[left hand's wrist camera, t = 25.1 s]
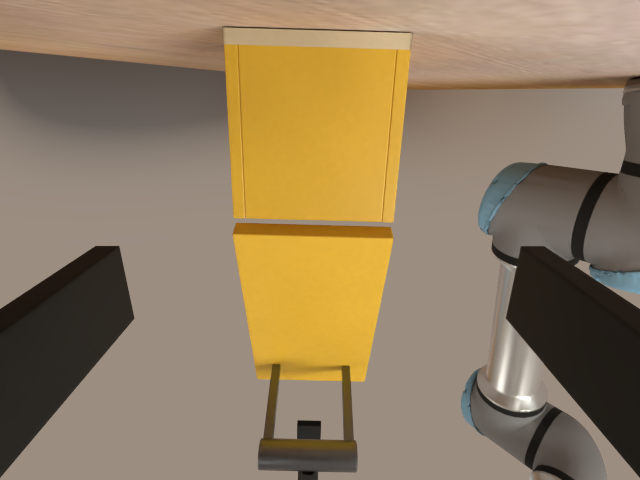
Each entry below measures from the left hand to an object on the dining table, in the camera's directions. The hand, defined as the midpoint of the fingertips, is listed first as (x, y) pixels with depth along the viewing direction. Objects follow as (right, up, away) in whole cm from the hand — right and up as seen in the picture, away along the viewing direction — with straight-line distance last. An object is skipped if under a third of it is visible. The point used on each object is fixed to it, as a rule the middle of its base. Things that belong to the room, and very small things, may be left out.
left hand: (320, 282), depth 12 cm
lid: (-1, -4, +17) cm, 18 cm away
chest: (0, +15, +15) cm, 22 cm away
